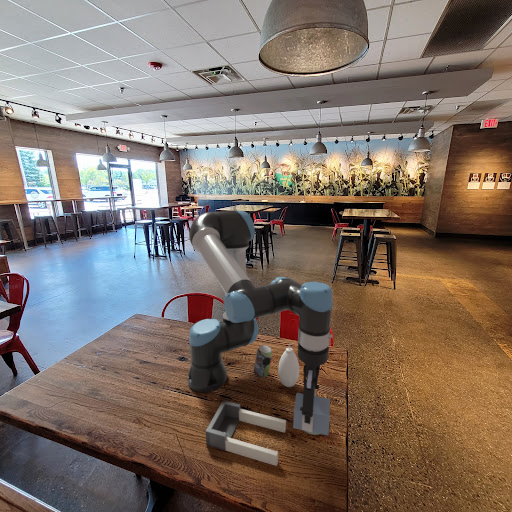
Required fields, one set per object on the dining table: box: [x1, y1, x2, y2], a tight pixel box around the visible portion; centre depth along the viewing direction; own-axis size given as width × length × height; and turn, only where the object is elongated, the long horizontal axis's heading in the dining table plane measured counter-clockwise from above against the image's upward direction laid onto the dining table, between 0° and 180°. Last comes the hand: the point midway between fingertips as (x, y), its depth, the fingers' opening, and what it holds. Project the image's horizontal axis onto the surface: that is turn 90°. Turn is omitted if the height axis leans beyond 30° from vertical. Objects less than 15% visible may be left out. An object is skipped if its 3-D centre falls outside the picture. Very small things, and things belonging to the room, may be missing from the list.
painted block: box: [292, 392, 331, 436], centre depth 72 cm, size 9×6×6 cm, turn 75°
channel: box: [225, 408, 287, 467], centre depth 79 cm, size 15×12×4 cm
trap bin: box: [205, 399, 241, 452], centre depth 82 cm, size 6×12×5 cm, turn 162°
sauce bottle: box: [277, 342, 300, 388], centre depth 100 cm, size 8×8×18 cm
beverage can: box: [253, 344, 273, 378], centre depth 106 cm, size 6×7×12 cm
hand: (308, 419), depth 73 cm, fingers closed on painted block, 6 cm apart
